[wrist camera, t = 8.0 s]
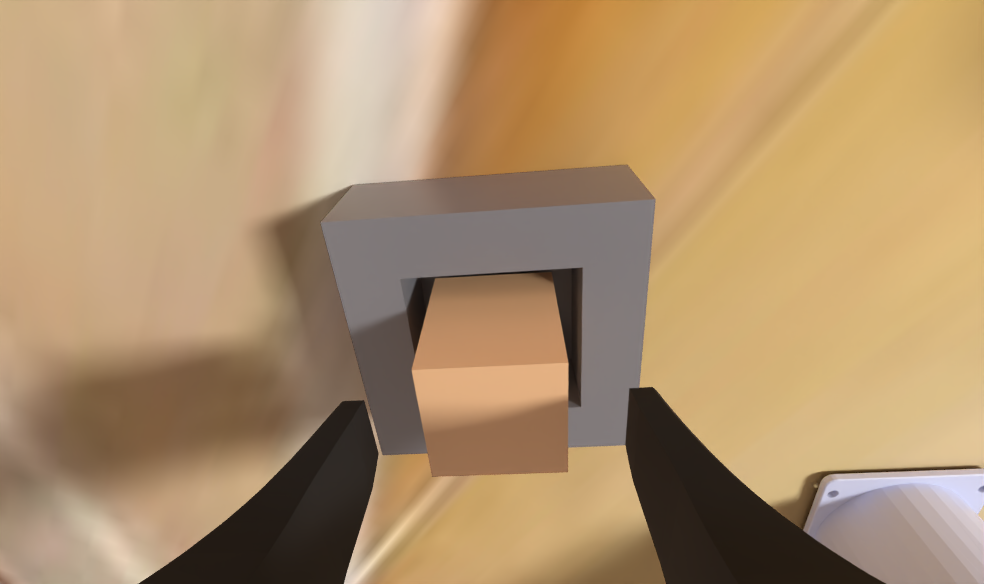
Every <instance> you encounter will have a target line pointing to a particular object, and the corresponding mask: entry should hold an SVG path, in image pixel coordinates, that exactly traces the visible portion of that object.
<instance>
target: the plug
mask: <svg viewBox="0 0 984 584" xmlns="http://www.w3.org/2000/svg"><path fill="white" fill-rule="evenodd" d="M412 375H413V380H414V385H415V391H416V396H417V401H418V406H419V411H420V416H421V421H422V427H423V432H424V437H425V442H426V447H427V452H428V458H429V463H430V468H431V473H432V477H437V476H466V475H496V474H526V473H555V472H568V358H567V353H566V347H565V342H564V336H563V331H562V326H561V320H560V315H559V309H558V304H557V299H556V293H555V288H554V283H553V277H552V272H541V273H523V274H505V275H487V276H469V277H451V278H435V281H434V284H433V288H432V292H431V296H430V300H429V304H428V308H427V312H426V316H425V319H424V323H423V327H422V331H421V335H420V339H419V343H418V347H417V351H416V354H415V358H414V362H413V366H412Z"/></svg>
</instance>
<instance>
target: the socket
mask: <svg viewBox="0 0 984 584" xmlns="http://www.w3.org/2000/svg"><path fill="white" fill-rule="evenodd" d="M654 211H655V198H654V197H653V196H652V194H651V193H650V192H649V191H648V189H647V188H646V187H645V186H644V185H643V183H642V182H641V181H640V180H639V178H638V177H637V176H636V175H635V173H634V172H633V171H632V170H631V169H630V167H629V166H628V165H616V166H603V167H589V168H575V169H562V170H548V171H535V172H521V173H507V174H494V175H480V176H467V177H453V178H440V179H426V180H412V181H399V182H385V183H372V184H358V185H353V186H352V187H351V188H350V189H349V190H348V191H347V192H346V194H345V195H344V196H343V197H342V198H341V199H340V200H339V202H338V203H337V204H336V205H335V206H334V207H333V208H332V210H331V211H330V212H329V213H328V214H327V215H326V217H325V218H324V219H323V220H322V221H321V222H320V223H321V227H322V231H323V235H324V238H325V242H326V246H327V249H328V253H329V257H330V261H331V264H332V268H333V272H334V276H335V279H336V283H337V287H338V290H339V294H340V298H341V302H342V305H343V309H344V313H345V317H346V320H347V324H348V328H349V331H350V335H351V339H352V343H353V346H354V350H355V354H356V358H357V361H358V365H359V369H360V372H361V376H362V380H363V384H364V387H365V391H366V395H367V399H368V402H369V406H370V410H371V413H372V417H373V421H374V425H375V428H376V432H377V436H378V440H379V443H380V447H381V451H382V454H383V455H399V454H423V453H428V452H427V447H426V442H425V437H424V432H423V427H422V421H421V416H420V411H419V406H418V401H417V396H416V391H415V385H414V380H413V375H412V366H413V362H414V358H415V354H416V351H417V347H418V343H419V339H420V335H421V331H422V327H423V323H424V319H425V316H426V312H427V308H428V304H429V300H430V296H431V292H432V288H433V284H434V281H435V278H451V277H469V276H487V275H505V274H523V273H541V272H552V277H553V283H554V288H555V293H556V299H557V304H558V309H559V315H560V320H561V326H562V331H563V336H564V342H565V347H566V353H567V358H568V447H592V446H616V445H625V441H626V427H627V414H628V400H629V388H639V384H640V373H641V361H642V349H643V338H644V326H645V315H646V303H647V292H648V280H649V269H650V257H651V246H652V234H653V222H654Z"/></svg>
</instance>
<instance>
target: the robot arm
mask: <svg viewBox="0 0 984 584" xmlns="http://www.w3.org/2000/svg"><path fill="white" fill-rule="evenodd" d="M625 445H626V450H627V455H628V460H629V465H630V469H631V474H632V478H633V482H634V485H635V488H636V491H637V494H638V497H639V501H640V504H641V507H642V510H643V513H644V516H645V519H646V522H647V525H648V528H649V531H650V534H651V537H652V540H653V543H654V546H655V548H656V551H657V554H658V557H659V560H660V564H661V567H662V571H663V574H664V578H665V581H666V584H984V521H983V520H982V519H981V518H980V517H979V516H978V513H979V512H980V510H981V509H982V507H983V505H984V468H983V469H956V470H929V471H903V472H876V473H849V474H831V475H828V476H825V477H824V478H823V479H822V481H821V483H820V486H819V488H818V491H817V494H816V496H815V499H814V502H813V505H812V507H811V510H810V513H809V516H808V518H807V521H806V524H805V527H804V529H803V530H802V529H800V528H799V527H797V526H796V525H795V524H793V523H792V522H790V521H789V520H788V519H786V518H785V517H784V516H782V515H781V514H780V513H778V512H777V511H776V510H775V509H773V508H772V507H771V506H770V505H768V504H767V503H766V502H765V501H763V500H762V499H761V498H760V497H759V496H757V495H756V494H755V493H754V492H753V491H751V490H750V489H749V488H748V487H747V486H746V485H745V484H744V483H742V482H741V481H740V480H739V479H738V478H737V477H736V476H735V475H734V474H733V473H732V472H730V471H729V470H728V469H727V468H726V467H725V466H724V465H723V464H722V463H721V462H720V461H719V460H718V459H717V458H716V457H715V456H714V455H713V454H712V453H711V452H710V451H709V450H708V449H707V448H706V447H705V446H704V445H703V444H702V443H701V441H700V440H699V439H698V438H697V437H696V436H695V435H694V434H693V433H692V432H691V431H690V430H689V429H688V427H687V426H686V425H685V424H684V423H683V422H682V421H681V419H680V418H679V417H678V416H677V415H676V414H675V413H674V411H673V410H672V409H671V408H670V407H669V405H668V404H667V403H666V402H665V401H664V399H663V398H662V397H661V396H660V394H659V393H658V392H657V391H656V390H655V389H654V388H653V387H646V388H629V400H628V414H627V427H626V441H625ZM378 454H379V453H378V450H377V446H376V442H375V438H374V435H373V431H372V427H371V424H370V420H369V416H368V413H367V409H366V405H365V402H364V400H363V401H343V402H342V403H341V404H340V405H339V406H338V407H337V408H336V409H335V410H334V411H333V413H332V414H331V415H330V416H329V417H328V418H327V419H326V421H325V422H324V423H323V424H322V425H321V426H320V427H319V429H318V430H317V431H316V432H315V433H314V434H313V435H312V436H311V438H310V439H309V440H308V441H307V442H306V443H305V444H304V445H303V446H302V448H301V449H300V450H299V451H298V452H297V453H296V454H295V455H294V456H293V457H292V458H291V460H290V461H289V462H288V463H287V464H286V465H285V466H284V467H283V468H282V469H281V470H280V471H279V472H278V473H277V474H276V475H275V476H274V477H273V478H272V479H271V480H270V481H269V482H268V483H267V484H266V485H265V486H264V487H263V488H262V489H261V490H260V491H259V492H258V493H257V494H256V495H254V496H253V497H252V498H251V499H250V500H249V501H248V502H247V503H246V504H244V505H243V506H242V507H241V508H240V509H239V510H237V511H236V512H235V513H234V514H233V515H232V516H230V517H229V518H228V519H227V520H226V521H224V522H223V523H222V524H221V525H219V526H218V527H217V528H216V529H214V530H213V531H212V532H210V533H209V534H208V535H206V536H205V537H204V538H203V539H201V540H200V541H199V542H197V543H196V544H195V545H194V546H192V547H191V548H190V549H188V550H187V551H186V552H184V553H183V554H181V555H180V556H179V557H177V558H176V559H174V560H173V561H171V562H170V563H169V564H167V565H166V566H164V567H163V568H161V569H160V570H158V571H157V572H155V573H154V574H152V575H151V576H149V577H148V578H146V579H145V580H143V581H142V582H140V583H139V584H344V580H345V577H346V573H347V569H348V566H349V563H350V560H351V556H352V553H353V550H354V547H355V544H356V540H357V537H358V534H359V531H360V528H361V524H362V521H363V518H364V515H365V512H366V508H367V505H368V502H369V498H370V495H371V492H372V488H373V482H374V477H375V472H376V466H377V460H378Z"/></svg>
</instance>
